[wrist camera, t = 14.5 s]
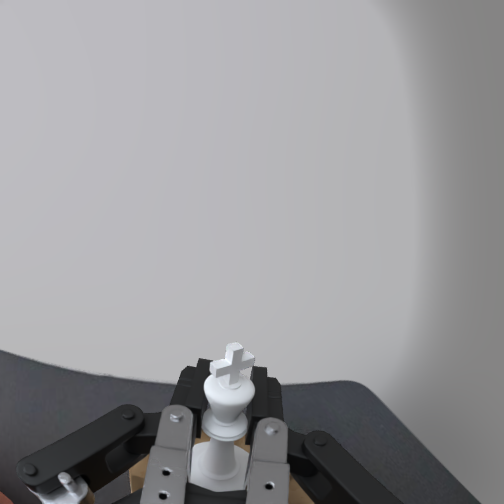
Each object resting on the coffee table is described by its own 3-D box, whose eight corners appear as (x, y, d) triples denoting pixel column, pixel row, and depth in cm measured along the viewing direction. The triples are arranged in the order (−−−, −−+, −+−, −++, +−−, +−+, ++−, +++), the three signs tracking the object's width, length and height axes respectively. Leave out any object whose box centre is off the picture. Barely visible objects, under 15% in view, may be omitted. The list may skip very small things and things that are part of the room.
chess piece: (276, 486, 12) (331, 362, 9) (202, 522, 9) (208, 415, 6) (229, 436, 16) (250, 305, 13) (160, 459, 13) (146, 323, 10)
